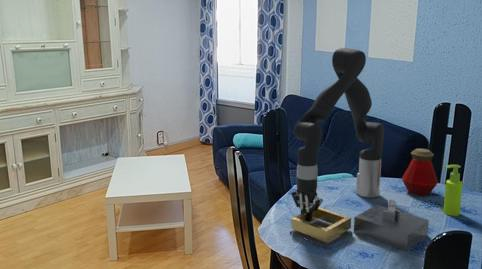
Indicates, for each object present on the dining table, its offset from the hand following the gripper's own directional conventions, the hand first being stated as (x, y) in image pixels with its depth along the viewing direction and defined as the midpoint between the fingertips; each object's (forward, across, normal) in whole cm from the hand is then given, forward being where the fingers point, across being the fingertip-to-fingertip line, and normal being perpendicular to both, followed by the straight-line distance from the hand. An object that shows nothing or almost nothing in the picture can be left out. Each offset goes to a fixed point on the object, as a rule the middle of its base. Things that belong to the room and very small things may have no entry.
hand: (306, 219), depth 156 cm
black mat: (+3, +7, 0) cm, 7 cm away
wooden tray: (+1, +7, 0) cm, 7 cm away
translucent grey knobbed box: (+3, +25, +17) cm, 30 cm away
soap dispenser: (+3, +33, +51) cm, 61 cm away
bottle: (+3, +14, +65) cm, 66 cm away
